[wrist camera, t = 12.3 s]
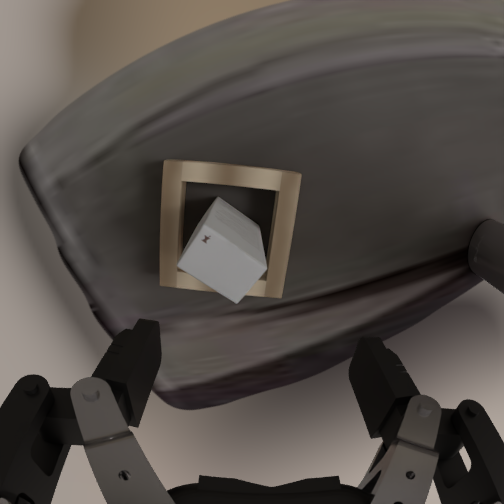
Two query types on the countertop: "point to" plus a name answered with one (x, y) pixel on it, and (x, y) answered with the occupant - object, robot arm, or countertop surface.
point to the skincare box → (225, 251)
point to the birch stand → (234, 175)
